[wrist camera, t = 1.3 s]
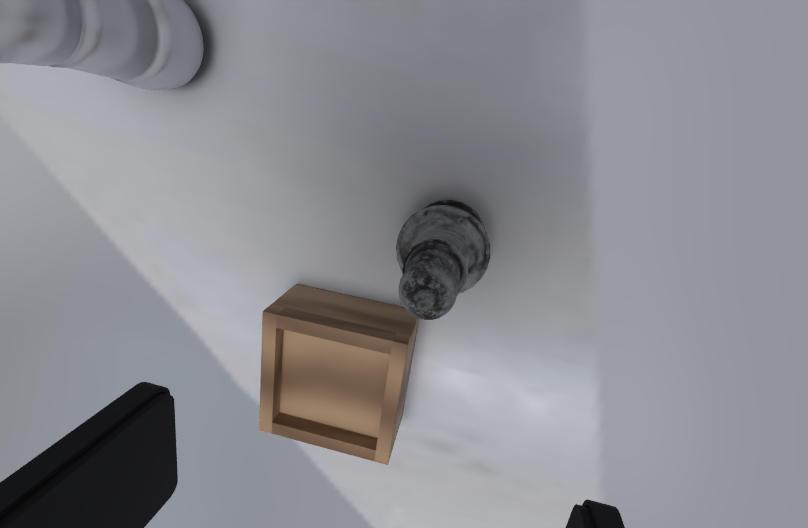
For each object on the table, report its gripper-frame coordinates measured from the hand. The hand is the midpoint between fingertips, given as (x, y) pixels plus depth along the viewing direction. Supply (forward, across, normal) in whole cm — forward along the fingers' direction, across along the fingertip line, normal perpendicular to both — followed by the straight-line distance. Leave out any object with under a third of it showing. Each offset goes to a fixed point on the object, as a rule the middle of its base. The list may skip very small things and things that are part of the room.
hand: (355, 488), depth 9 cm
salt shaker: (+22, 0, -1) cm, 22 cm away
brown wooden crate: (+22, +6, +10) cm, 25 cm away
